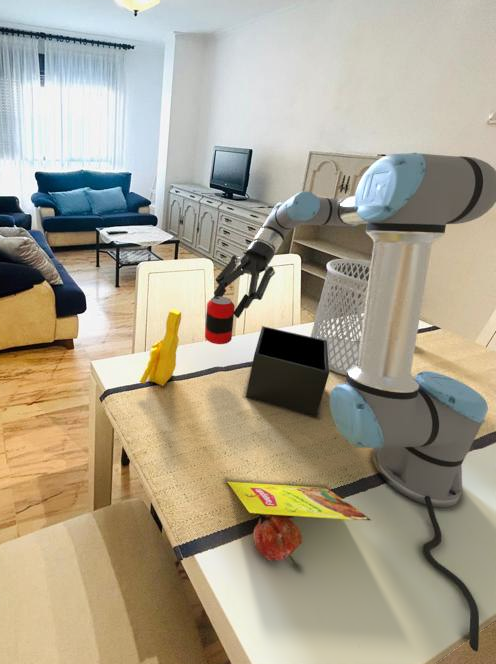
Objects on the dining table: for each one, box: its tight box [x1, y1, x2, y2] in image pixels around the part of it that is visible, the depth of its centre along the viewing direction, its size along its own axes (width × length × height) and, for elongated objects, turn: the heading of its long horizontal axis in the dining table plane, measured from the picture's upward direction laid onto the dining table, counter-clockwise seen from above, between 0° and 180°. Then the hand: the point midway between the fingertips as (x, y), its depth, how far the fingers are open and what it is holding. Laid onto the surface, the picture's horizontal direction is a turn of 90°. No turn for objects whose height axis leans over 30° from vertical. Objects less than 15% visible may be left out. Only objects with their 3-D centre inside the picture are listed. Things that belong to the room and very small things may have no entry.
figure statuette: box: [139, 308, 182, 387], centre depth 105 cm, size 18×8×22 cm, turn 150°
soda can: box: [204, 296, 236, 345], centre depth 109 cm, size 8×8×12 cm
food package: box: [227, 481, 373, 522], centre depth 70 cm, size 15×1×20 cm
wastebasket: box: [310, 258, 371, 376], centre depth 120 cm, size 25×25×30 cm
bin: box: [245, 325, 330, 418], centre depth 105 cm, size 18×18×14 cm
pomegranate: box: [253, 513, 303, 568], centre depth 64 cm, size 7×7×10 cm
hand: (223, 310), depth 110 cm, fingers closed on soda can, 7 cm apart
